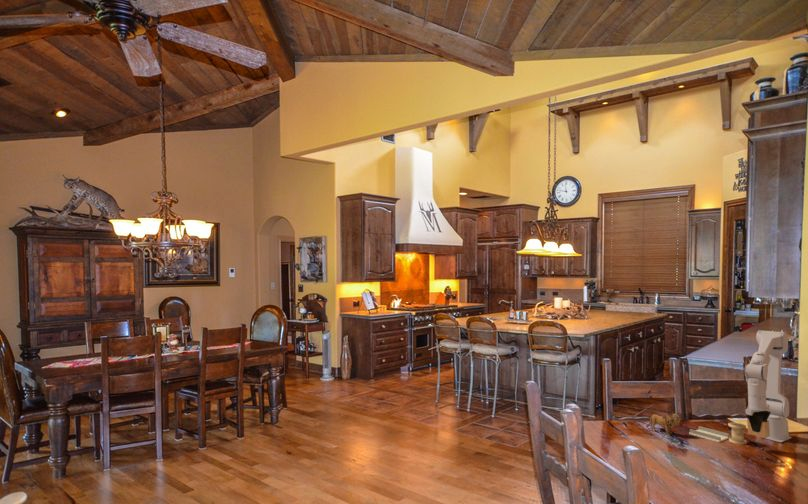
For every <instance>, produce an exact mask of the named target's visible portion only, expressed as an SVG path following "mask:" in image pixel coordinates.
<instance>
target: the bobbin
mask: <svg viewBox="0 0 808 504" xmlns="http://www.w3.org/2000/svg"><path fill="white" fill-rule="evenodd" d="M728 427H729V428H731V431H730V432H731V437H730V438H729V439H728V442H729V443H731V444H734V445H740V446H741V445H743V446H744V445H747V443H748V441H747V440H746V439H744V438H745V437H744V430H746V429H747V424H744V423H741V422H734V421H733V422H728Z"/></svg>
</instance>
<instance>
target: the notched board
mask: <svg viewBox="0 0 808 504" xmlns="http://www.w3.org/2000/svg"><path fill="white" fill-rule="evenodd" d="M688 435H691V436H695V437H698V438H702V439H705V440H709V441H713V442H716V443H721V442H724V441H726V440H729V438H731V436H730V433H728V432H724V431H720V430H715V429H712V428H708V427H704V426H701V425H700V426H698V429H695V430H694V429H692V428H690V429H689V432H688Z"/></svg>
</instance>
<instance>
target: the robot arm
mask: <svg viewBox="0 0 808 504" xmlns="http://www.w3.org/2000/svg"><path fill="white" fill-rule="evenodd" d="M755 335H756V343H757V344H758V350H757V351H755V352H754V353H753V355H752V357H751V359H750V362H749V363H748V364H745V366H744V377H745V381H746V383H747V398H748V400H747V401H748V405H747V406H746V407H747V408H745V412H744V415H745V416H746V417H747V418H748V419H749V421H750V424H751V427H752V430H753V431H755V432H760V425H761V420H762V419H764V420H768V421H769V429H770V437H767V438H764V439H765V440H766V439H767V440H770V441H774V442H777V443H783V442H786V441H788V440H791V439H792V436H790V434H789V433H790V432H789V421H788V419H787V418H788V417H789V415H790V406H789V405H790V402H789V400H788V398H787V397H786V396H784V395H783V394H782V393H781V387H782V386H781V385H782V359H783V355H784V354H785V353H787V352H788V349H789V336H788V333H787V332H786V331H776V330H775V331H774V330H773V331H772V330H761V329H758V331H757V332H756V334H755Z"/></svg>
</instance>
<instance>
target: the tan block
mask: <svg viewBox="0 0 808 504" xmlns="http://www.w3.org/2000/svg"><path fill="white" fill-rule="evenodd" d="M746 421H747V422H746V423H747V424H746V425H747V434H748V435H751V436H755V437H759V438H762V439H765V438H767V437H770V429H769V421H768V420H764V419H762V420H761V425H760V432H755V431H753V430H752V427H751V424H750V421H749V419H748V418H747V420H746Z"/></svg>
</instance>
